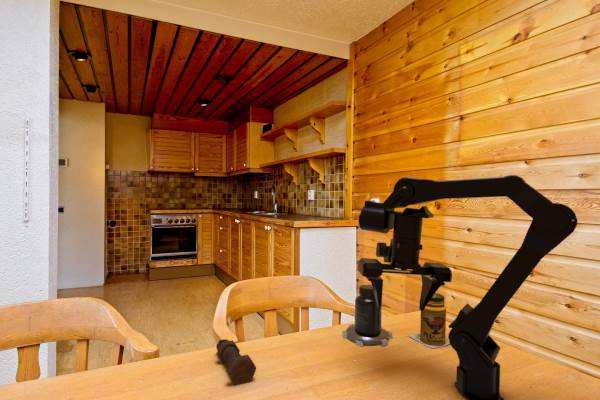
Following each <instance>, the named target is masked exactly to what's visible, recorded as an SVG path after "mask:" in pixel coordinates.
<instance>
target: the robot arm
mask: <svg viewBox="0 0 600 400" xmlns="http://www.w3.org/2000/svg"><path fill="white" fill-rule="evenodd" d="M499 197H500V198H502V197H503V198H508V199H509V200H511V201H512V203H514V204H515V205H516V206H517V207H519V208H520V209H521V210H522V211H523V212H524V213H526V214H527V215H528V216H529V217H530V218H531V219H532V220H531V223H530V225H529V226H528V229H527V231H526V234H525V237H524V238H523V240H522V243H521V246H520V247H519V249H518V250H517V251H516V252H515V254H514V255H513V257H511V259H510V261H509V262H508V263H507V265H506V266H505V268H504V269H503V270H502V272H501V273H500V274H499V275H498V277H497V278H496V279H495V281H494V282H493V283H492V285H491V286H490V288H489V289H488V290H487V292H486V293H485V295H484V296H483V297H482V299H481V300H480V301H479V302H478V303H477V304H476V305H475V306H474V307H472V306H471V305H470V304H469V303H466V304H465V305H464V306H463V307H462V308H461V309H460V310H459V312H458V314H457V316H456V317H455V318H454V319H453V320H452V322H450V323H449V325H448V328H449V329H450V330H449V332H448V336H447V338H448V341H449V342H450V344H449V345H450V346H451V348H452V349H453V350H454V351H455V352H456V355H457V358H458V365H457V366H456V378H455V379H456V381H455V382H454V386H455V388H457V389H458V390H459V392H460V393H461V394H462V396H463V397H464V398H465V399H466V400H505V398H504V397H503V396H502V395H501V394H500V393H501V389H500V386H501V364H500V363H499V362H497V361H496V359H497V357H498V355H499V353H500V350H501V347H500V346H499V344H498V343H497V342H496V341H495V339H493V338H492V336H491V335H490V334H491V331H492V329H493V327H494V325H495V322H496V320H497V318H498V316H499V315H500V314H501V313H502V311H503V310H504V308H505V307H506V306H507V305H508V303H509V302H510V300H512V299H513V297H514V296H515V294H516V293H517V292H518V290H519V289H520V288H521V287H522V286H523V285H524V283H525V281H526V280H527V278H528V277H529V276H530V275H531V273H532V272H533V271H534V270H535V268H536V267H537V266H538V264H539V263H540V262H541V261H542V259H543V258H545V257H546V256H547V255H548V254H549V253H551V252H552V251H553V250H554V249H555V248H556V247H558V246H559V245H560V244H561V243H563V242H564V241H565V240H566V239H567V238H568V237H570V235H571V234H573V233H574V231H575V230H576V228H577V225H578V218H577V215H576V212H575V211H574V210H573V209H572V208H571V207H570V206H568V205H566V204H564V203H559V202H553V201H551V200H550V199H548V197H546V196H545V195H543V194H542V193H541V192H539V191H538V190H536V189H535V188H534V187H533V186H531V185H530V184H529V183H527V181H526V180H525V179H524V178H523V177H521V176H518V175H515V174H508V175H505V176H494V177H493V176H492V177H479V178H478V177H477V178H465V179H464V178H463V179H449V180H438V179H437V180H435V179H427V178H426V179H425V178H418V177H417V178H416V177H406V176H405V177H401V178H399V179H398V180H397V181H396V182H395V183H394V186H393V191H392V192H391V193H390V194H389V195H388V197H387V198H386V199H385V200H384V201H383V202H377V201H374V200H365V201H364V206H363V207H362V209H361V211H360V213H359V215H358V225H359V228H360V229H361V230H362V231H365V232H373V233H379V234H385V235H386V234H388V233H389V232H390V230H391V231H392V238H391V239H390V245H387V242H381V241H380V242H377V243H376V249H375V255H376V258H369V257H368V258H367V257H361V258H360V259H358V262H357V271H358V273H360V274H359V275H361V276H362V277H365V278H366V280H367V281H369V282H370V283H371V284H370V285H372V287H373V290H374V294H375V299H376V303H377V307H378V308H379V309H380V308H381V304H383V289H384V279H383V278H382V277H381V276H382V275H383V274H384V273H385V274H398V275H417V276H420V278H421V283H422V284H421V289H420V290H421V292H420V295H419V296H420V297H419V309H418V310H420V312H421V311H423V310H424V309H425V307H426V305H427V304H428V302H429V301H430V299H431V298H432V296H433V295H434V294H435V293H436V292H437V291H438V290H439V289H440V288H441V287H442V286H446V283H451V282H452V280H453V279H452V278H453V273H452V272H453V271H452V270H451V268H450V267H448V266H447V265H445V264H443V263H441V262H430V261H425V262H424V263H423V265H421V263H419V262H420V253H421V251H423V246H424V245H423V244H422V243H421V242H422V233H423V231H422V230H423V221H424V219H431V218H432V219H433V218H434V216H435V215H434V214H433V213H432V212H431V211H430V210H429V208H428V206H427V205H423V204H428V203H432V202H433V203H434V202H436V201H437V202H438V201H440V200H441V201H442V200H445V199H446V200H447V199H448V200H449V199H452V200H453V199H470V198H471V199H472V198H473V199H475V198H477V199H478V198H499ZM417 205H423V206H421V207H420V208H413V207H409V206H417ZM395 209H403V211H397V210H395ZM377 258H383V262H381V261H380V260H378V259H377Z"/></svg>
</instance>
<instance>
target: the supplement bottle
mask: <svg viewBox="0 0 600 400" xmlns="http://www.w3.org/2000/svg"><path fill="white" fill-rule="evenodd" d="M358 289H359V290H358V294H359V295H357V296H356V297H355V300H354V324H355V332H356V333H357V334H358V335H360V336H364V337H376V336H379V335H380V334H381V328H382V313H383V312H382V307H383V305H382V304H383V303H382V304H381V308H380V309H379V308H378V307H377V303H376V299H375V294H374V290H373V287H372V284H360V285H359V286H358Z"/></svg>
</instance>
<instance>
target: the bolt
mask: <svg viewBox="0 0 600 400" xmlns="http://www.w3.org/2000/svg"><path fill="white" fill-rule="evenodd" d="M216 350H217V351H216V355H217V356H218V358H219V360H220V362H221V363H222V364H224V365H227V366H228V368H227V369H226V373H227V375H228V377H229V379H230V380H231V382H232V383H233V385H234V386H240V385H245V384H248V383H249V382H251V381H252V380H253V378H254V375H255V373H256V371H257V366H256V365H255V363H254V362H253V359H252V358H251V357H250V356H249V354H244V355H242V354H241V353H240V349H239V347H238V345H237V344H236V342H235V341H234V340H229V339H226V338H225V339H220V340H218V342H217V344H216Z"/></svg>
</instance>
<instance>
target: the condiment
mask: <svg viewBox="0 0 600 400" xmlns="http://www.w3.org/2000/svg"><path fill="white" fill-rule="evenodd" d="M445 303H446V302H445V296H444V295H442V294H441V293H436V292H435V294H434V295H433V296H432V298H431V299H430V301H429V302H428V304H427V305H426V307H425V309H424V310H423V311H421V310H420V324H419V325H420V328H419V329H420V330H419V331H420V332H419V333H416V334H412V335H408V337H410V338H411V339H413V340H415V341H418V342H419V343H420V344H422V345H424V346H427V347H429V348H430V349H436V348H441V347H445V346H448V345H451V344H450V342H449V339H448V340H447V339H446V338H447V337H446V331H447V328H446V327H447V324H446V322H447V309H446V306H445ZM419 337H420V338H419Z"/></svg>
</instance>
